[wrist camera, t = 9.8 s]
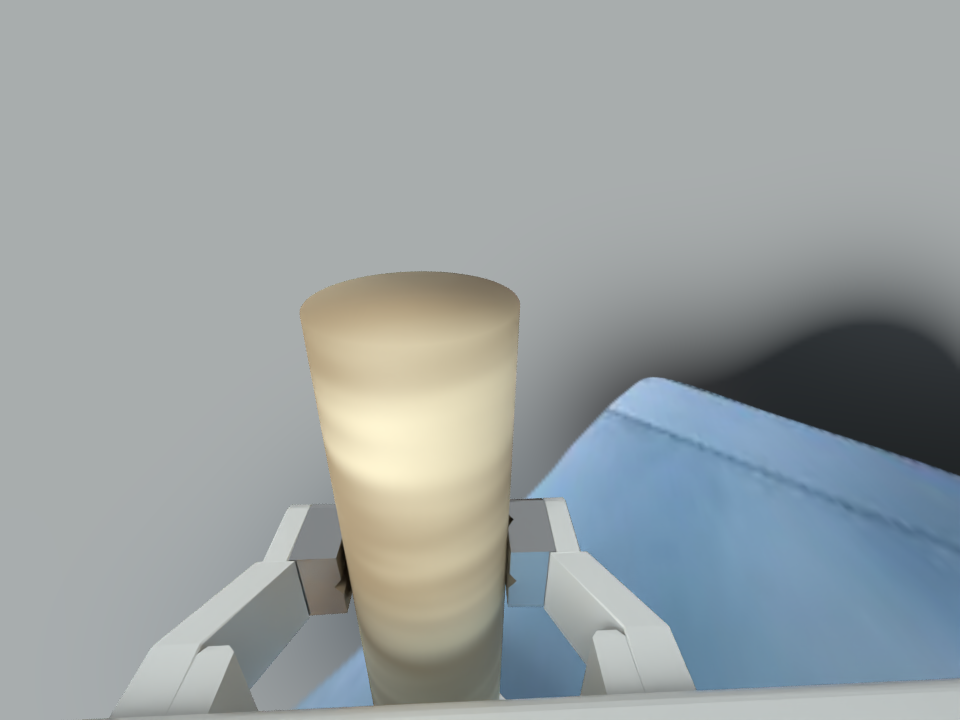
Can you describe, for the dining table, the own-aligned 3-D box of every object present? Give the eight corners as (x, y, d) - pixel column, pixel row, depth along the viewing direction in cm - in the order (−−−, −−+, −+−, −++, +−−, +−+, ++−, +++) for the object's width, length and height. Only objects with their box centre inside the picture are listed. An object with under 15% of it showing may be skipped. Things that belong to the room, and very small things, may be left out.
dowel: (521, 725, 14) (563, 301, 7) (433, 841, 12) (386, 372, 5) (445, 642, 16) (427, 262, 10) (358, 726, 14) (261, 299, 7)
